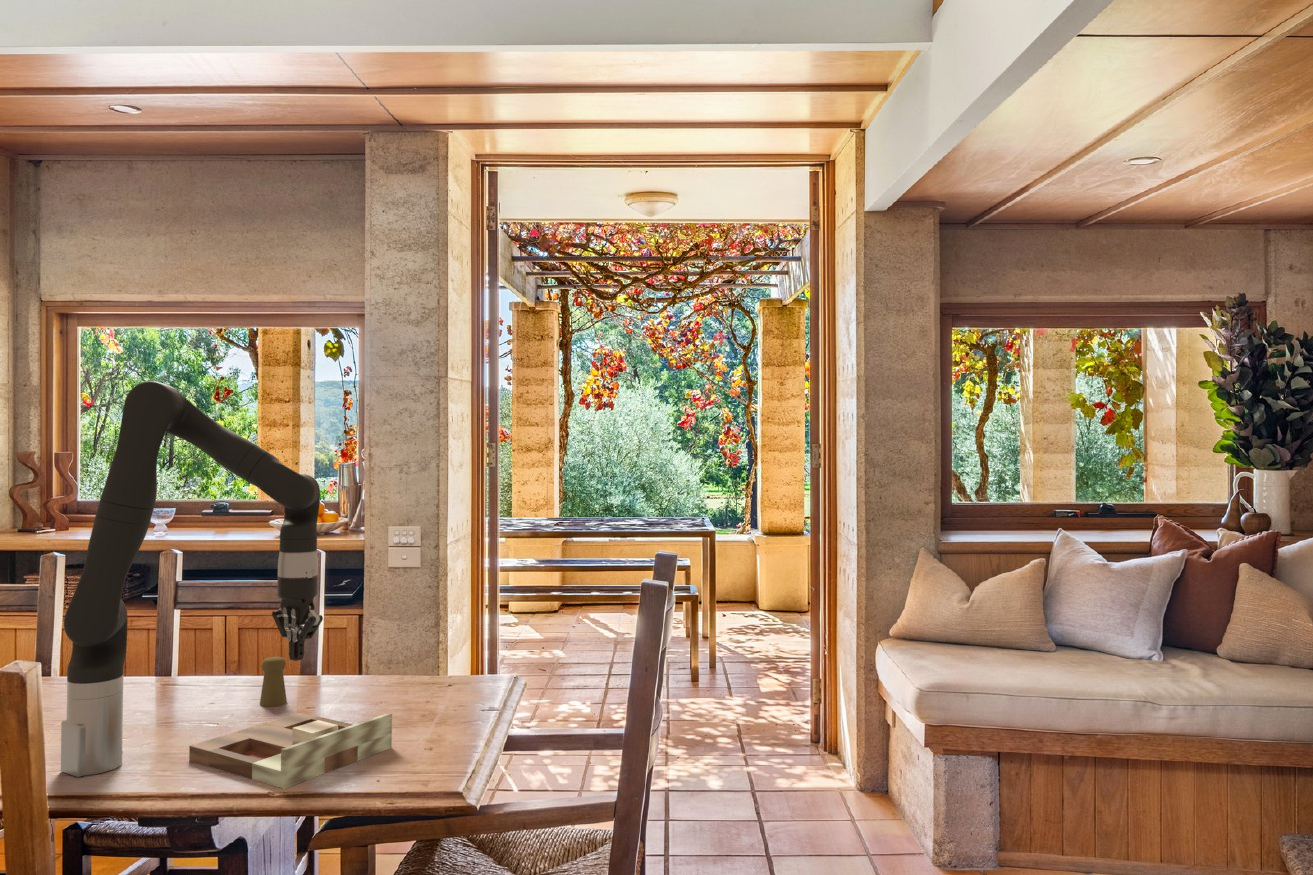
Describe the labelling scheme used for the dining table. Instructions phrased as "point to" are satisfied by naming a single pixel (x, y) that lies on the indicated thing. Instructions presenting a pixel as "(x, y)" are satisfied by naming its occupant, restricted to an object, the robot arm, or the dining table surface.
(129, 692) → the dining table surface
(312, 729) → the block
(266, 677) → the cork
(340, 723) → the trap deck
